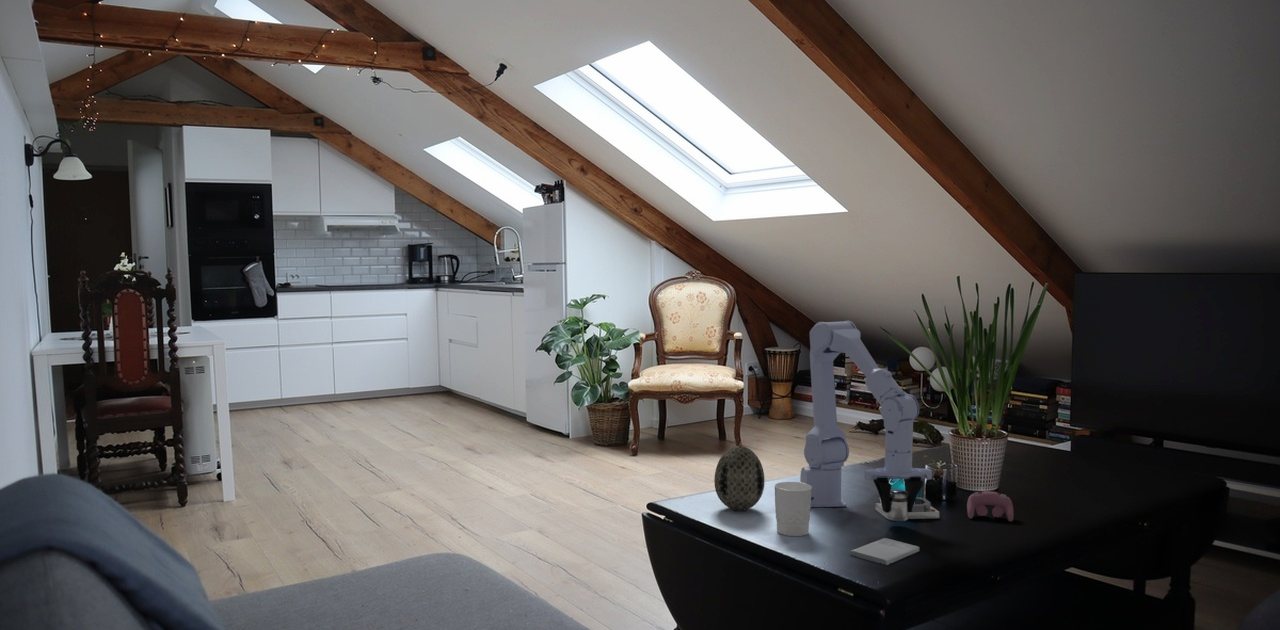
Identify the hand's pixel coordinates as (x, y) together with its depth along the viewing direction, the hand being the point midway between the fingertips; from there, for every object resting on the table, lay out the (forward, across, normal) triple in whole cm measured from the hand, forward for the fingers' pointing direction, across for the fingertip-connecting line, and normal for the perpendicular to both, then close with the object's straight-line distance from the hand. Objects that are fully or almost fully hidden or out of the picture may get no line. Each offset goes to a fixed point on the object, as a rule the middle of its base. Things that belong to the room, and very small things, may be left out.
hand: (897, 511), depth 196 cm
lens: (+2, 0, 0) cm, 2 cm away
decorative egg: (+4, -32, +16) cm, 36 cm away
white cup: (+4, -24, -2) cm, 24 cm away
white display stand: (+3, +6, +9) cm, 12 cm away
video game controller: (+4, +24, +5) cm, 25 cm away
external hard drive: (+4, -9, -17) cm, 20 cm away
